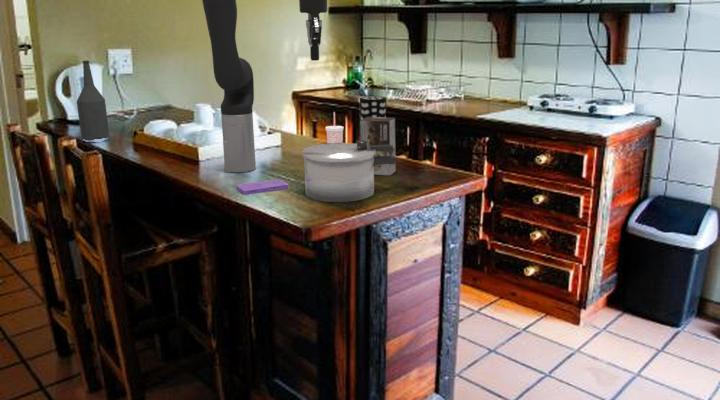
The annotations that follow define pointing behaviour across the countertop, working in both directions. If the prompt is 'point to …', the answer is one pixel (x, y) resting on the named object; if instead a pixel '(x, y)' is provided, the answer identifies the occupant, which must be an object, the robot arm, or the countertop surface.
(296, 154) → the countertop surface
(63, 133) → the countertop surface
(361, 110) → the white-spotted black cylinder
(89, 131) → the bottle
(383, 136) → the coffee box
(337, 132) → the beverage cup
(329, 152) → the lid
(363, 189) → the pot
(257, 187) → the sponges
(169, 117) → the countertop surface
